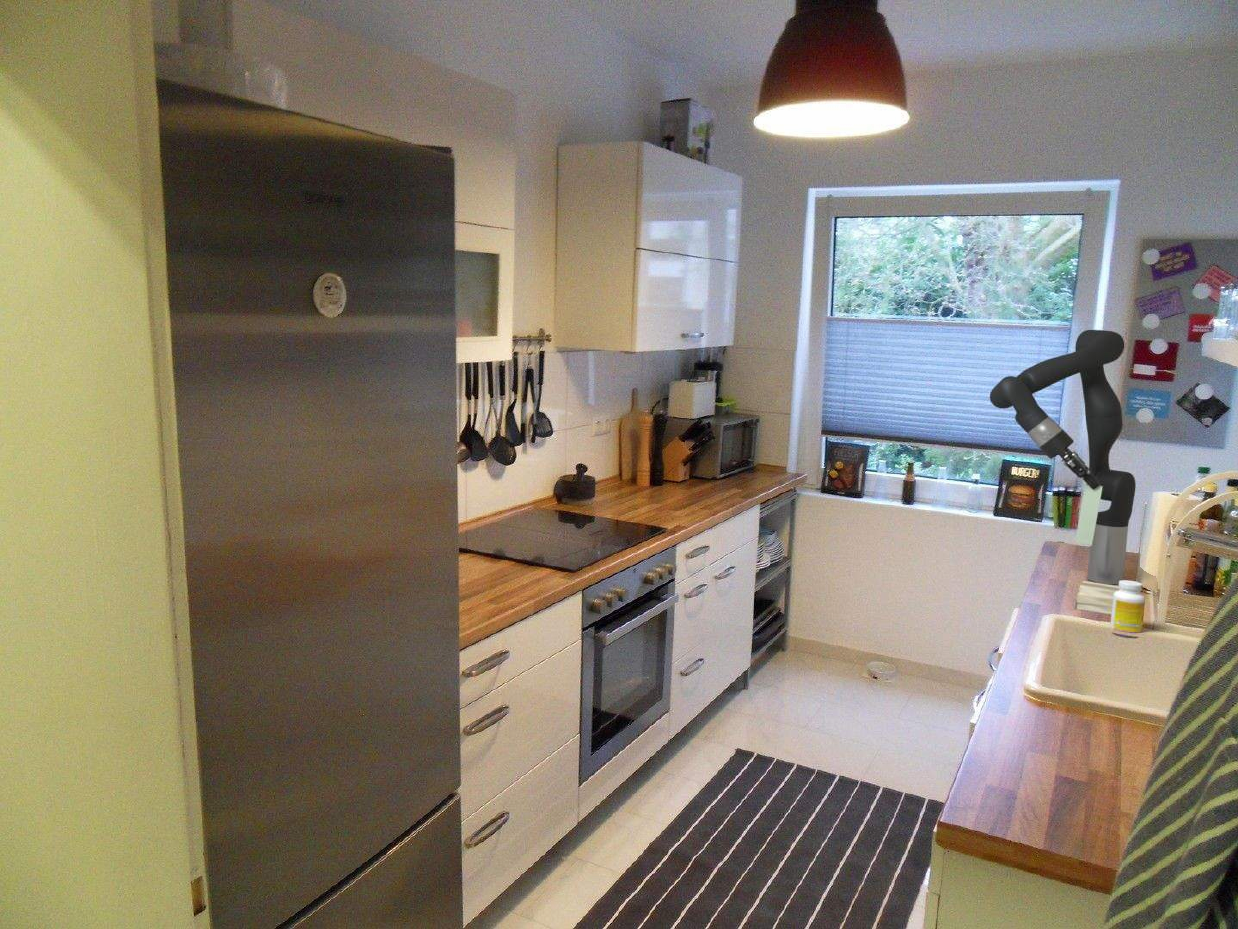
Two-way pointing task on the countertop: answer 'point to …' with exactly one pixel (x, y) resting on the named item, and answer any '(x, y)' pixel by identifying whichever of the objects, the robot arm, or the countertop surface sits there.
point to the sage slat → (1088, 515)
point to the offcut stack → (1096, 597)
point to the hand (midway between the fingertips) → (1096, 486)
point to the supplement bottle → (1128, 609)
